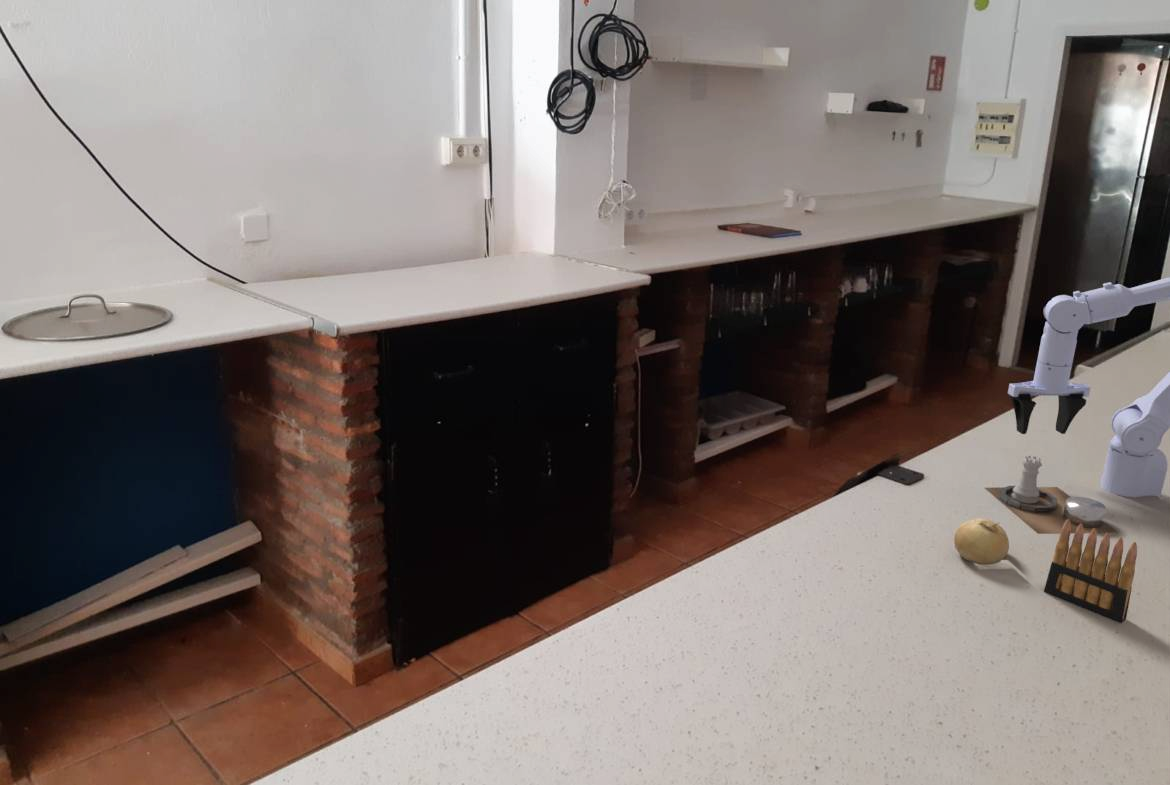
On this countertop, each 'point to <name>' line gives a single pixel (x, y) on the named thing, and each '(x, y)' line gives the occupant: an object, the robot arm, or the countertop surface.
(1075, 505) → the silver metal dome
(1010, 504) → the socket ring
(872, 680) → the countertop surface
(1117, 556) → the ammunition clip
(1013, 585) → the countertop surface
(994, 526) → the onion
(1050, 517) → the carrier board
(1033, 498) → the rook chess piece
